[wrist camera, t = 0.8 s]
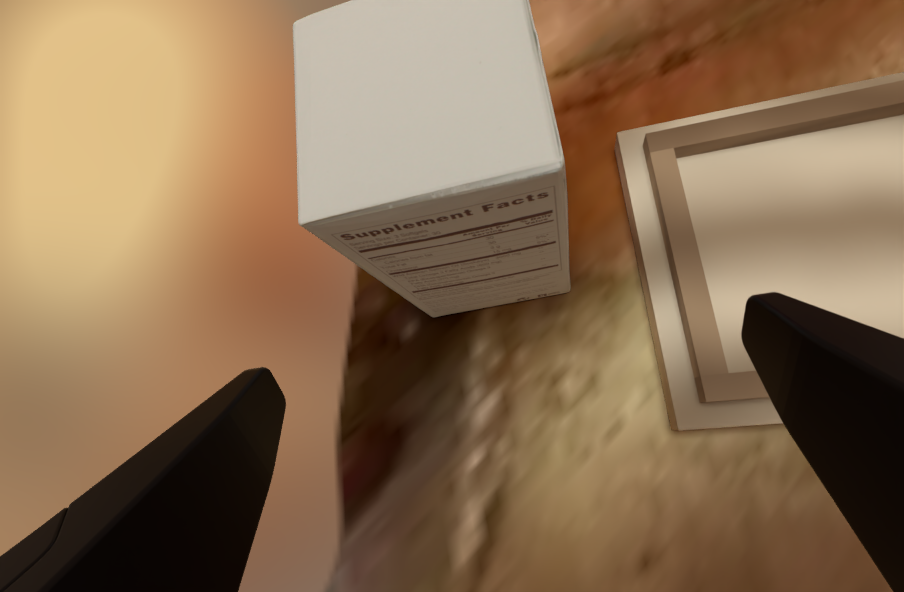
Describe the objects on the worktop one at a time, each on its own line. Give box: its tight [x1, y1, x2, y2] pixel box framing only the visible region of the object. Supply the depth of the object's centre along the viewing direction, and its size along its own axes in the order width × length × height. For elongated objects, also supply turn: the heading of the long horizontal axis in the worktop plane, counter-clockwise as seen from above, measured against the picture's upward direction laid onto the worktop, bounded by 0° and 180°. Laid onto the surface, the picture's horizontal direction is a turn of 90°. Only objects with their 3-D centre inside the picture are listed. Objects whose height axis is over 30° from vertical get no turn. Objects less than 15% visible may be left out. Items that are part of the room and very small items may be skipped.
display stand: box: [615, 72, 904, 431], centre depth 19 cm, size 14×14×2 cm
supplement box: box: [293, 0, 571, 317], centre depth 18 cm, size 7×7×13 cm
